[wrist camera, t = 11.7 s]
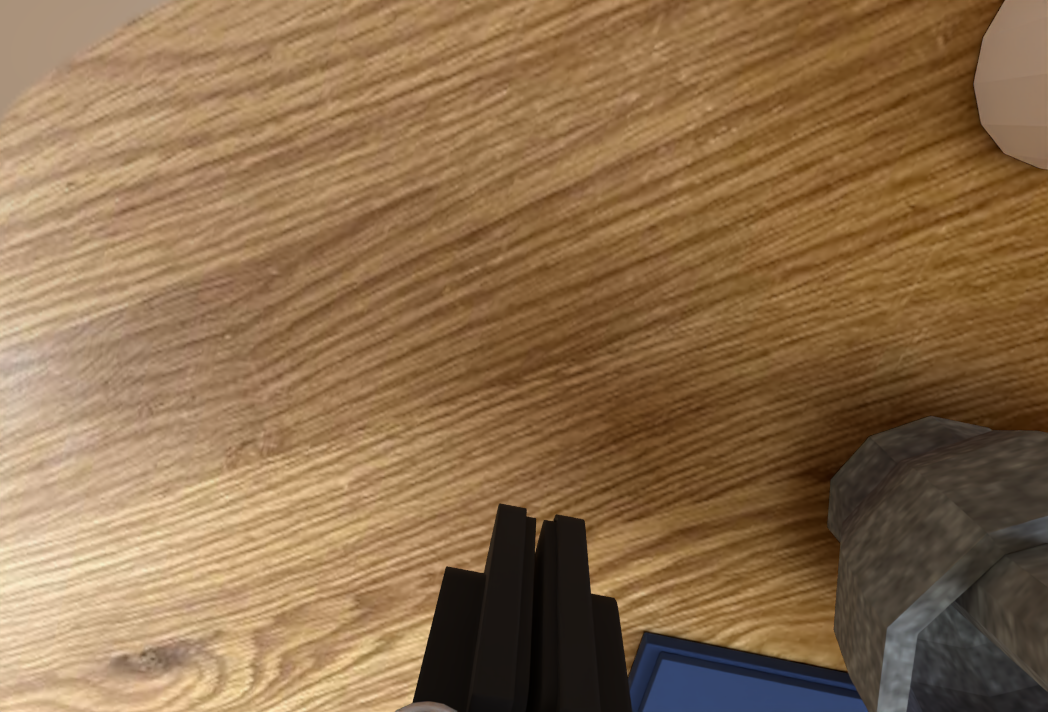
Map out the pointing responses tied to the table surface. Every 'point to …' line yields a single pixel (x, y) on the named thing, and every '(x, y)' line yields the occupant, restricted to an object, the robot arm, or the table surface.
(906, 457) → the mortar and pestle
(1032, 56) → the beige tapered cup
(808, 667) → the blue flat slab
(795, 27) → the table surface
